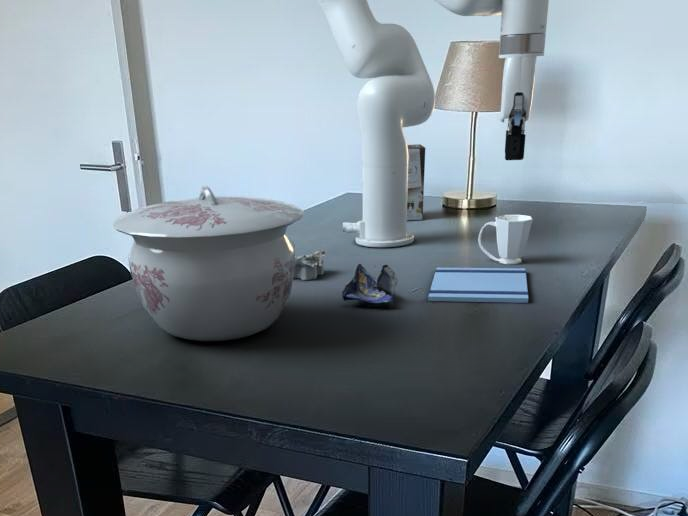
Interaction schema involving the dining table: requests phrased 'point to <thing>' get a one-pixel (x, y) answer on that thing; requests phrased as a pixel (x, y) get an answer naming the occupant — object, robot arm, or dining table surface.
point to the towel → (479, 285)
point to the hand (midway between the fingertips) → (513, 156)
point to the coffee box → (415, 181)
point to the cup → (509, 237)
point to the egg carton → (309, 265)
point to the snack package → (372, 287)
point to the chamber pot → (212, 263)
